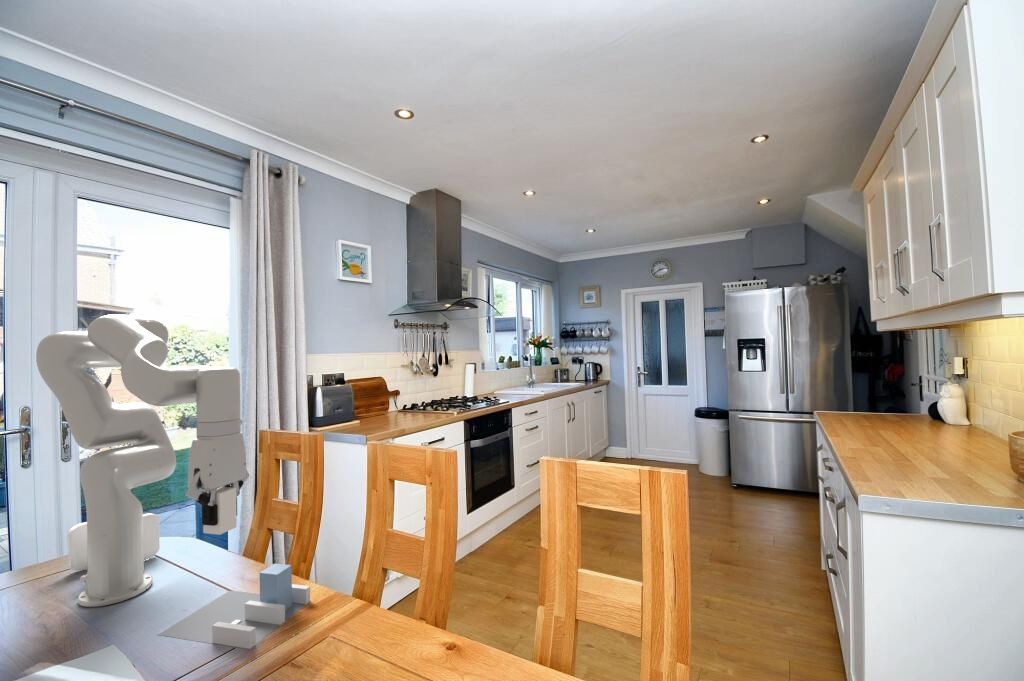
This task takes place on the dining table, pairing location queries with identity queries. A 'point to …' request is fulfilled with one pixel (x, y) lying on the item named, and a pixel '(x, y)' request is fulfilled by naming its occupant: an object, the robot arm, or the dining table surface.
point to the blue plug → (276, 585)
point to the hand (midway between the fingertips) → (220, 519)
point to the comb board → (237, 619)
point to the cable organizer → (79, 542)
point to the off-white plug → (224, 511)
